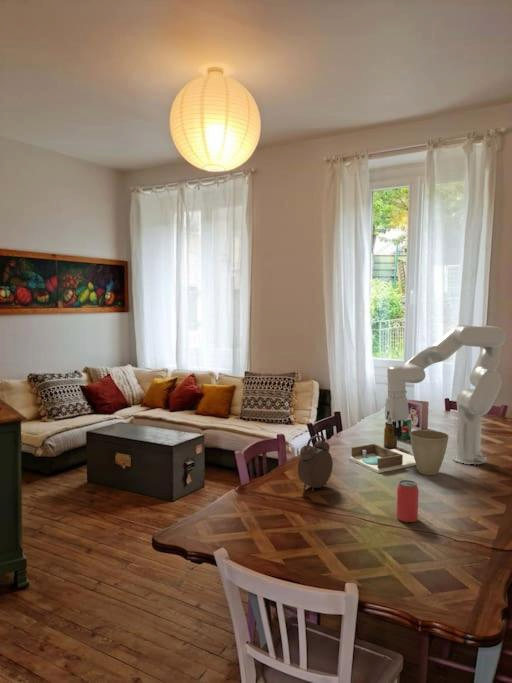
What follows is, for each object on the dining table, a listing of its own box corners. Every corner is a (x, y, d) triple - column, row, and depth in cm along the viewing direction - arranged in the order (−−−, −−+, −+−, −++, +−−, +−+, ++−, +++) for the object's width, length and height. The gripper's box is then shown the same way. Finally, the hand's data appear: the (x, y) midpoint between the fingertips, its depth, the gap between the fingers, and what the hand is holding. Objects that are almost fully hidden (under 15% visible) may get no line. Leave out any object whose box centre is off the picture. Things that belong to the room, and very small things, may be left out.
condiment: (393, 444, 246) (394, 420, 245) (402, 449, 238) (403, 424, 237) (379, 445, 244) (380, 421, 243) (388, 450, 236) (388, 425, 235)
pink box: (405, 426, 280) (406, 399, 279) (415, 424, 284) (416, 398, 282) (419, 431, 270) (420, 403, 269) (430, 429, 273) (431, 402, 272)
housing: (402, 464, 212) (402, 454, 212) (379, 468, 207) (379, 459, 206) (373, 452, 229) (374, 443, 228) (351, 456, 223) (351, 447, 223)
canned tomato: (409, 437, 258) (409, 416, 257) (412, 441, 251) (413, 420, 250) (393, 436, 259) (394, 415, 258) (396, 441, 251) (396, 419, 250)
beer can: (414, 525, 159) (415, 488, 158) (393, 520, 163) (394, 484, 162) (419, 517, 165) (421, 481, 164) (399, 512, 168) (400, 477, 167)
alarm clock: (318, 480, 198) (319, 430, 196) (333, 485, 193) (334, 434, 191) (294, 490, 188) (294, 437, 186) (309, 495, 183) (309, 441, 181)
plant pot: (453, 472, 207) (454, 434, 206) (437, 481, 197) (439, 441, 195) (418, 463, 218) (419, 427, 216) (402, 472, 207) (403, 434, 205)
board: (424, 463, 218) (425, 454, 217) (377, 473, 206) (378, 463, 206) (394, 451, 235) (394, 442, 234) (349, 459, 223) (349, 450, 223)
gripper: (403, 390, 227) (404, 430, 228) (377, 395, 220) (378, 436, 221) (415, 393, 220) (416, 434, 222) (389, 398, 213) (390, 440, 215)
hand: (397, 435), depth 221 cm, fingers closed
